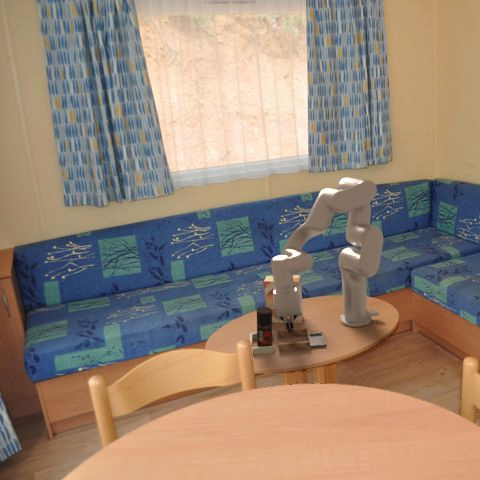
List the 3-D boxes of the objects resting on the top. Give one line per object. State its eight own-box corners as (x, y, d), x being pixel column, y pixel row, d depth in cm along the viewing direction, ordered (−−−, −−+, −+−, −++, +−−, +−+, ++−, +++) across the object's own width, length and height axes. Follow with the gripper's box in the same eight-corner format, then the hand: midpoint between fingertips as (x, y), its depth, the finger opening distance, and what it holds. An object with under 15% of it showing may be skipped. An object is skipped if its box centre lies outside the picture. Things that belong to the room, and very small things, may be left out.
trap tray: (322, 334, 185) (322, 332, 185) (326, 346, 175) (326, 344, 175) (307, 335, 185) (307, 333, 185) (310, 348, 176) (310, 345, 176)
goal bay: (272, 336, 188) (272, 331, 187) (273, 352, 176) (273, 346, 175) (250, 338, 188) (250, 332, 188) (250, 354, 176) (249, 348, 175)
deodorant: (273, 341, 184) (273, 307, 179) (271, 349, 178) (271, 314, 174) (258, 340, 185) (257, 306, 181) (256, 347, 180) (255, 313, 175)
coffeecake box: (267, 323, 200) (263, 281, 194) (269, 315, 206) (265, 275, 201) (302, 323, 196) (298, 280, 191) (303, 315, 203) (300, 274, 198)
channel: (307, 334, 186) (307, 327, 185) (310, 349, 175) (310, 342, 174) (277, 336, 187) (277, 330, 186) (279, 351, 176) (278, 344, 175)
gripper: (303, 281, 178) (308, 323, 183) (264, 286, 179) (271, 328, 184) (305, 288, 171) (310, 332, 176) (265, 294, 172) (271, 337, 177)
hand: (290, 330), depth 180 cm, fingers closed
